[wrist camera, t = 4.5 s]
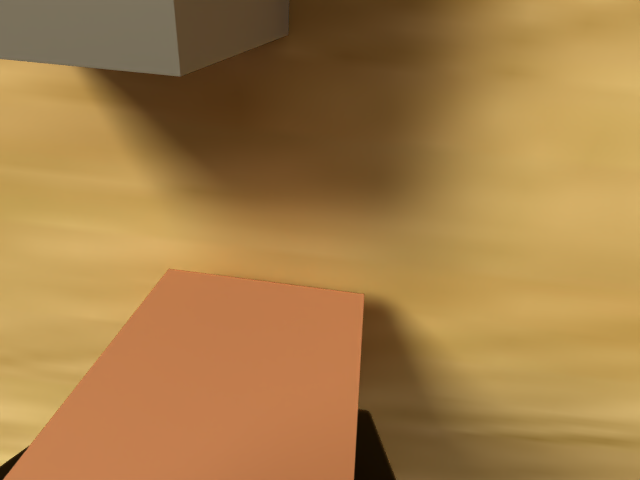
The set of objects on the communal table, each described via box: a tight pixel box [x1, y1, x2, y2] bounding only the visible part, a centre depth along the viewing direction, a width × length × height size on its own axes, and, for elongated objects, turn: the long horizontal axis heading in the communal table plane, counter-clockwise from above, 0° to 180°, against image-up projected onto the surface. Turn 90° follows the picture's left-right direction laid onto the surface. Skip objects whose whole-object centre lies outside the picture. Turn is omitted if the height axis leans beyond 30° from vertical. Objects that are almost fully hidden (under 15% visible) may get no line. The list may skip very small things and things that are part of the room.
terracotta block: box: [3, 269, 364, 480], centre depth 8 cm, size 4×4×6 cm
